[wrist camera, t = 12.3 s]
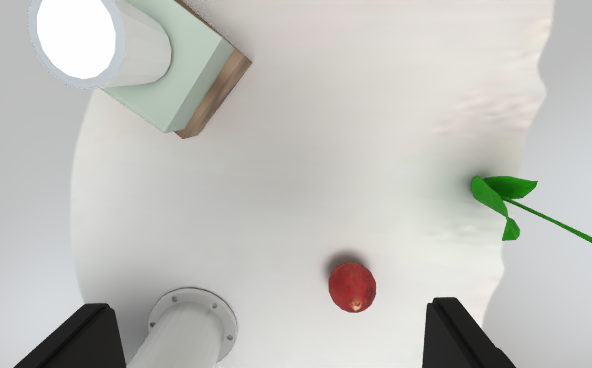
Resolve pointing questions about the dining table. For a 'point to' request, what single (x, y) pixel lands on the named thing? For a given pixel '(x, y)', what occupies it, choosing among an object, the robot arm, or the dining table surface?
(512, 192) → the flower
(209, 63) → the tower top block
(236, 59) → the tower base block
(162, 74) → the white cup
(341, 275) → the onion
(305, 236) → the dining table surface
